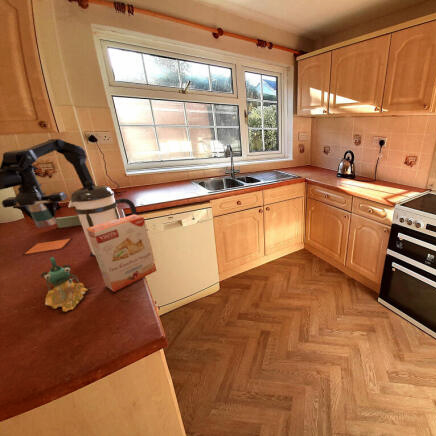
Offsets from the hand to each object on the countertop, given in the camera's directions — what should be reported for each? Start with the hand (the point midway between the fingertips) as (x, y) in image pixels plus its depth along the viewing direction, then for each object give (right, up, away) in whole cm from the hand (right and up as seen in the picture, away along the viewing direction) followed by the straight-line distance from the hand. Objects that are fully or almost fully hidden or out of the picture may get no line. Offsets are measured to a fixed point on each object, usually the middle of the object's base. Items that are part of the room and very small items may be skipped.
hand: (44, 218), depth 105 cm
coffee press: (+35, -14, -5) cm, 38 cm away
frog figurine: (+39, -24, -31) cm, 55 cm away
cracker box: (+54, -21, -23) cm, 62 cm away
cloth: (+2, -12, 0) cm, 12 cm away
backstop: (-7, -4, +22) cm, 23 cm away
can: (0, -3, +1) cm, 3 cm away
